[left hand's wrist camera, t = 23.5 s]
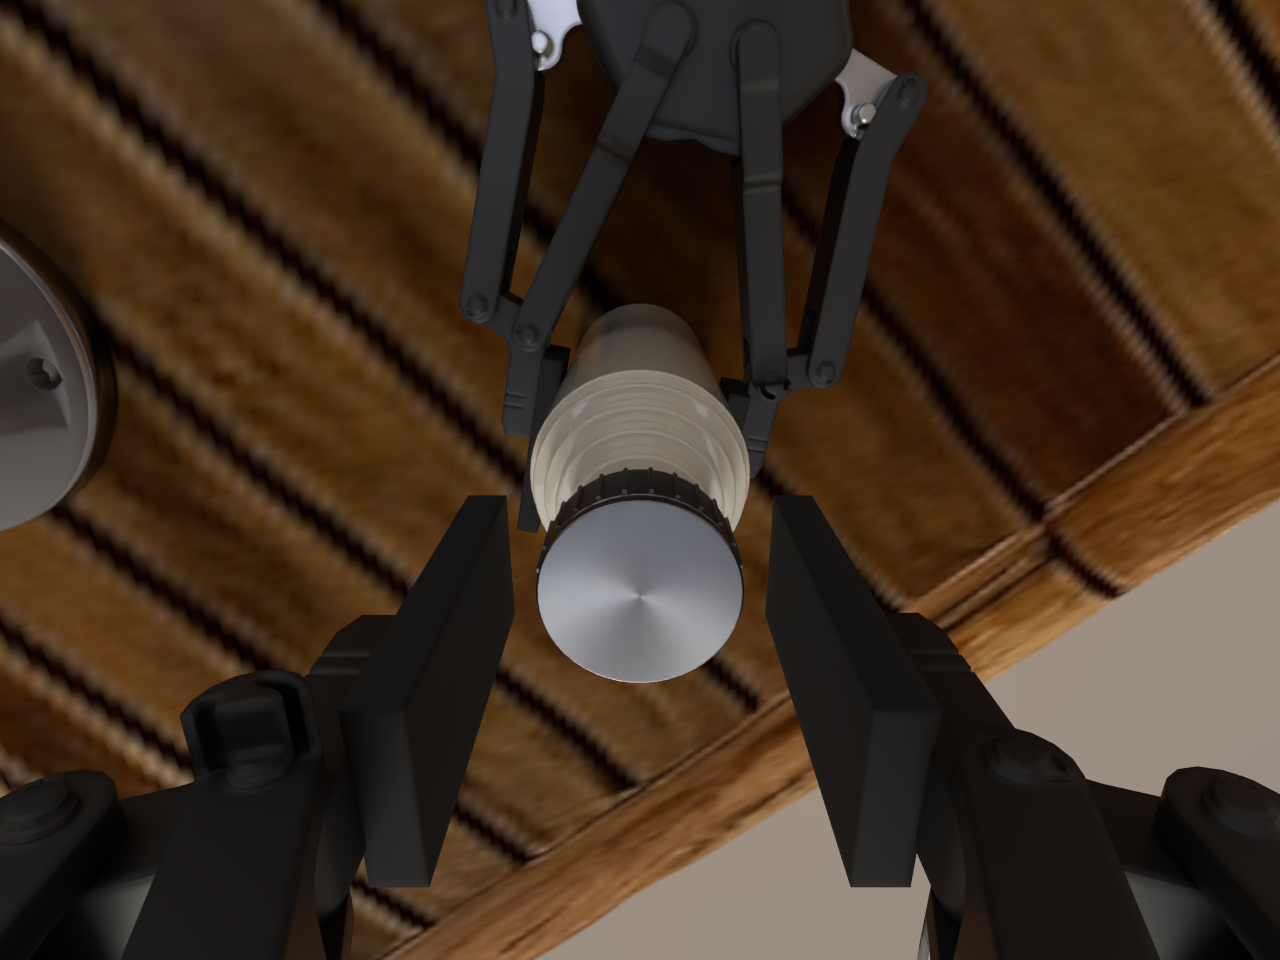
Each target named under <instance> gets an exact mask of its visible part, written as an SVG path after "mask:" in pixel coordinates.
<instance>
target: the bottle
mask: <svg viewBox="0 0 1280 960" xmlns="http://www.w3.org/2000/svg"><path fill="white" fill-rule="evenodd" d="M649 467H653V470H656V471H662V472H666V473H669V474H673V472H675V473H677V476H678V477H680V478H683V479H685V480H687V481H688V482H690V483H692V484H695V483H697V484H699V488H700V489H701V490H702V491H703V492H705V493H706V494H707V495H708V496H709V497H710V498H711V499H713V498H715V499H716V501H717V504H718V508H719V509H720V511H721V512H722V514H723V516H724V518H725V517H728V519H729V522H730V525H731V529H732V532H733V531H734V530H735V528H736V526H737V524H738V522H739V519H740V517H741V514H742V511H743V508H744V505H745V501H746V498H747V495H748V489H749V483H750V464H749V455H748V451H747V447H746V443H745V441H744V438H743V436H742V433H741V431H740V428H739V426H738V424H737V422H736V420H735V418H734V415H733V413H732V411H731V409H730V407H729V405H728V403H727V400H726V398H725V396H724V394H723V392H722V390H721V387H720V385H719V383H718V381H717V379H716V377H715V374H714V372H713V370H712V368H711V366H710V364H709V362H708V359H707V357H706V355H705V353H704V351H703V349H702V346H701V344H700V342H699V340H698V338H697V336H696V335H695V333H694V331H693V330H692V329H691V328H690V326H689V325H688V324H687V323H686V322H685V321H684V320H683V319H682V318H680V317H679V316H678V315H676V314H675V313H673V312H671V311H669V310H667V309H665V308H662V307H660V306H656V305H652V304H629V305H624V306H621V307H617V308H615V309H613V310H611V311H609V312H607V313H605V314H604V315H602V316H601V317H600V318H599V319H597V320H596V321H595V322H594V323H593V324H592V325H591V326H590V327H589V329H588V330H587V332H586V333H585V335H584V336H583V338H582V340H581V342H580V344H579V346H578V349H577V351H576V353H575V355H574V357H573V359H572V362H571V364H570V366H569V368H568V370H567V372H566V375H565V377H564V379H563V381H562V383H561V385H560V387H559V390H558V392H557V394H556V396H555V398H554V400H553V403H552V405H551V407H550V409H549V411H548V413H547V416H546V418H545V420H544V422H543V424H542V426H541V428H540V431H539V433H538V435H537V438H536V441H535V444H534V447H533V451H532V457H531V464H530V481H531V489H532V494H533V498H534V502H535V505H536V508H537V511H538V514H539V517H540V519H541V522H542V524H543V526H544V528H545V529H546V531H548V527H549V524H550V521H551V520H553V521H554V520H555V517H556V516H557V514H558V513H559V510H560V506H561V503H562V502H563V501H565V502H567V500H568V499H569V498H570V497H571V496H572V495H573V494H575V493H576V492H577V490H578V487H579V486H580V485H582V486H585V485H586V484H588V483H590V482H592V481H593V480H595V479H597V478H599V475H600V474H604V476H605V475H607V474H610V473H614V472H619V471H623V468H628V470H632V469H648V468H649Z"/></svg>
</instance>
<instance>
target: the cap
mask: <svg viewBox="0 0 1280 960" xmlns="http://www.w3.org/2000/svg"><path fill="white" fill-rule="evenodd" d="M741 569H743V564H742V561H741V557H740V554H739V550H738V547H737V543H736V540H735V538H734V536H733V532H732V529H731V525H730V522H729V519H728V517H725V518H724V516H723V514H722V512H721V511H720V509H719V508H718V504H717V501H716V499H715V498H713V499H711V498H710V497H709V496H708V495H707V494H706V493H705V492H703V491H702V490H701V489H700V488H699V484H697V483H695V484H692V483H690V482H688V481H687V480H685V479H683V478H680V477H678V476H677V473H675V472H673V474H669V473H666V472H662V471H656V470H653V467H649V468H648V469H632V470H628V468H623V471H619V472H614V473H610V474H607V475H605V476H604V474H600V475H599V478H597V479H595V480H593V481H592V482H590V483H588V484H586V485H585V486H582V485H580V486H579V487H578V490H577V492H576V493H575V494H573V495H572V496H571V497H570V498H569V499H568V500H567V502H565V501H563V502H562V503H561V506H560V510H559V513H558V514H557V516H556V517H555V520H554V521H553V520H551V521H550V524H549V527H548V531H547V534H546V537H545V541H544V544H543V548H542V552H541V555H540V558H539V562H538V565H537V569H536V572H538V577H537V585H536V597H537V605H538V610H539V614H540V617H541V620H542V623H543V625H544V627H545V629H546V631H547V633H548V634H549V636H550V637H551V639H552V640H553V642H554V643H555V644H556V645H557V647H558V648H559V649H560V650H561V651H562V652H563V653H564V654H565V655H566V656H567V657H569V658H570V659H571V660H572V661H573V662H575V663H576V664H578V665H579V666H581V667H582V668H584V669H586V670H588V671H590V672H592V673H594V674H597V675H599V676H602V677H605V678H608V679H612V680H617V681H622V682H630V683H649V682H658V681H663V680H668V679H672V678H675V677H678V676H681V675H683V674H686V673H688V672H690V671H692V670H694V669H696V668H697V667H699V666H701V665H702V664H704V663H705V662H706V661H708V660H709V659H710V658H712V657H713V656H714V655H715V654H716V653H717V652H718V651H719V650H720V649H721V648H722V647H723V646H724V644H725V643H726V642H727V640H728V639H729V638H730V636H731V634H732V632H733V631H734V629H735V627H736V625H737V622H738V620H739V617H740V614H741V610H742V605H743V596H744V586H743V577H742V573H741Z"/></svg>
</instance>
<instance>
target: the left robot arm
mask: <svg viewBox="0 0 1280 960" xmlns="http://www.w3.org/2000/svg"><path fill="white" fill-rule="evenodd" d="M115 413H116V403H115V388H114V380H113V375H112V371H111V366H110V362H109V359H108V356H107V353H106V350H105V347H104V344H103V342H102V339H101V337H100V334H99V332H98V330H97V328H96V326H95V324H94V322H93V320H92V318H91V316H90V314H89V312H88V311H87V309H86V308H85V306H84V304H83V303H82V301H81V300H80V298H79V296H78V295H77V294H76V292H75V291H74V289H73V288H72V287H71V285H70V284H69V283H68V281H67V280H66V279H65V278H64V276H63V275H62V274H61V273H60V272H59V271H58V269H57V268H56V267H55V266H54V265H53V264H52V263H51V262H50V261H49V260H48V259H47V258H46V257H45V256H44V255H43V254H42V253H41V252H40V251H39V250H38V249H37V248H36V247H35V246H34V245H33V244H31V243H30V242H29V241H28V240H27V239H26V238H24V237H23V236H22V235H21V234H20V233H18V232H17V231H15V230H14V229H13V228H11V227H10V226H9V225H7V224H6V223H5V222H3V221H1V220H0V531H3V530H7V529H11V528H13V527H16V526H19V525H21V524H24V523H26V522H28V521H30V520H32V519H34V518H36V517H38V516H40V515H42V514H44V513H46V512H48V511H50V510H52V509H54V508H56V507H58V506H60V505H62V504H63V503H65V502H66V501H68V500H69V499H71V498H72V497H74V496H75V495H76V494H77V493H78V492H80V491H81V490H82V489H83V488H84V487H85V486H86V485H87V484H88V483H89V481H90V480H91V479H92V478H93V477H94V475H95V474H96V472H97V471H98V469H99V468H100V466H101V464H102V462H103V460H104V458H105V456H106V454H107V451H108V448H109V445H110V443H111V439H112V435H113V430H114V424H115ZM514 615H515V612H514V598H513V584H512V570H511V556H510V542H509V527H508V513H507V499H506V496H468V497H467V499H466V500H465V502H464V504H463V505H462V507H461V508H460V510H459V512H458V513H457V515H456V517H455V518H454V520H453V522H452V523H451V525H450V526H449V528H448V530H447V531H446V533H445V535H444V536H443V538H442V540H441V541H440V543H439V545H438V546H437V548H436V549H435V551H434V553H433V554H432V556H431V558H430V559H429V561H428V563H427V564H426V566H425V568H424V569H423V571H422V572H421V574H420V576H419V577H418V579H417V581H416V582H415V584H414V586H413V587H412V589H411V590H410V592H409V594H408V595H407V597H406V599H405V600H404V602H403V604H402V605H401V607H400V609H399V610H398V612H397V613H396V615H362V616H360V617H359V618H357V619H356V620H354V621H353V622H352V623H350V624H349V625H347V626H346V627H344V628H343V629H341V630H340V631H338V632H337V633H336V634H335V636H334V637H333V639H332V640H331V641H330V643H329V644H328V645H327V647H326V648H325V650H324V651H323V652H322V657H319V658H318V659H317V661H316V662H315V663H314V665H313V666H312V668H311V669H310V673H309V675H306V676H305V677H302V676H301V675H300V674H298V673H294V672H289V671H285V670H264V671H256V672H252V673H248V674H244V675H240V676H235V677H233V678H231V679H228V680H226V681H224V682H221V683H219V684H217V685H215V686H212V687H210V688H209V689H208V690H206V691H205V692H203V693H202V694H200V695H199V696H198V697H196V698H195V699H193V700H192V701H191V702H190V703H189V704H188V706H187V707H186V708H185V709H184V711H183V712H182V713H181V714H180V720H181V724H182V727H183V731H184V735H185V738H186V742H187V745H188V749H189V753H190V756H191V760H192V763H193V767H194V771H195V774H196V777H195V780H194V782H192V783H189V784H186V785H182V786H179V787H175V788H170V789H166V790H162V791H157V792H153V793H148V794H144V795H139V796H135V797H130V798H126V799H121V800H120V797H119V794H118V791H117V788H116V785H115V782H114V781H113V780H112V779H111V778H110V777H109V776H107V775H106V774H105V773H104V772H98V771H91V770H77V771H70V772H63V773H57V774H54V775H51V776H48V777H45V778H42V779H38V780H36V781H33V782H31V783H28V784H26V785H24V786H22V787H20V788H18V789H17V790H15V791H13V792H11V793H9V794H7V795H5V796H3V797H1V798H0V960H350V952H351V942H352V933H353V924H354V912H353V904H352V898H351V893H350V886H351V884H352V881H353V879H354V877H355V874H356V872H357V870H358V867H359V865H360V863H361V860H362V858H363V856H364V859H365V865H366V870H367V876H368V882H369V887H430V883H431V880H432V877H433V874H434V871H435V867H436V864H437V861H438V858H439V855H440V851H441V848H442V845H443V842H444V839H445V835H446V832H447V829H448V826H449V823H450V819H451V816H452V813H453V810H454V807H455V803H456V800H457V797H458V794H459V791H460V787H461V784H462V781H463V778H464V775H465V771H466V768H467V765H468V762H469V759H470V755H471V752H472V749H473V746H474V743H475V740H476V736H477V733H478V730H479V727H480V724H481V720H482V717H483V714H484V711H485V708H486V704H487V701H488V698H489V695H490V692H491V688H492V685H493V682H494V679H495V676H496V672H497V669H498V666H499V663H500V660H501V656H502V653H503V650H504V647H505V644H506V640H507V637H508V634H509V631H510V628H511V624H512V621H513V618H514ZM765 615H766V618H767V621H768V624H769V628H770V631H771V634H772V637H773V640H774V644H775V647H776V650H777V653H778V656H779V660H780V663H781V666H782V669H783V672H784V676H785V679H786V682H787V685H788V688H789V692H790V695H791V698H792V701H793V704H794V708H795V711H796V714H797V717H798V720H799V724H800V727H801V730H802V733H803V736H804V740H805V743H806V746H807V749H808V752H809V755H810V759H811V762H812V765H813V768H814V771H815V775H816V778H817V781H818V784H819V787H820V791H821V794H822V797H823V800H824V803H825V807H826V810H827V813H828V816H829V819H830V823H831V826H832V829H833V832H834V835H835V839H836V842H837V845H838V848H839V851H840V854H841V858H842V861H843V864H844V867H845V870H846V873H847V877H848V880H849V883H850V886H851V887H911V881H912V876H913V870H914V865H915V859H916V854H918V857H919V859H920V861H921V864H922V866H923V868H924V871H925V873H926V875H927V878H928V880H929V882H930V884H931V888H930V893H929V899H928V903H927V909H926V914H925V919H924V924H923V929H922V934H921V939H920V945H919V952H918V959H917V960H928V955H929V950H930V960H1280V794H1278V793H1277V792H1275V791H1273V790H1271V789H1269V788H1267V787H1265V786H1263V785H1261V784H1259V783H1257V782H1256V781H1254V780H1251V779H1248V778H1246V777H1243V776H1239V775H1237V774H1234V773H1230V772H1227V771H1224V770H1219V769H1212V768H1205V767H1198V766H1197V767H1190V768H1183V769H1177V770H1176V771H1175V772H1174V773H1172V774H1171V775H1170V776H1169V777H1167V779H1166V782H1165V785H1164V788H1163V791H1162V794H1161V797H1159V796H1155V795H1150V794H1146V793H1141V792H1137V791H1132V790H1128V789H1123V788H1119V787H1114V786H1110V785H1105V784H1101V783H1098V782H1095V781H1091V780H1088V779H1085V776H1084V774H1083V773H1082V772H1081V770H1080V769H1079V767H1078V766H1077V764H1076V763H1075V761H1074V760H1073V759H1072V758H1071V757H1070V756H1069V755H1067V754H1066V753H1065V752H1063V751H1062V750H1061V749H1060V748H1059V747H1057V746H1056V745H1055V744H1053V743H1051V742H1049V741H1047V740H1045V739H1043V738H1041V737H1039V736H1037V735H1035V734H1033V733H1030V732H1026V731H1023V730H1019V729H1015V728H1014V726H1013V725H1012V724H1011V722H1010V721H1009V719H1008V718H1007V717H1006V715H1005V714H1004V712H1003V711H1002V710H1001V708H1000V707H999V706H998V704H997V703H996V702H995V700H994V699H993V697H992V696H991V695H990V693H989V692H988V691H987V689H986V688H985V686H984V685H983V684H982V682H981V681H980V680H979V678H978V677H977V675H976V674H975V673H974V672H971V667H970V666H969V664H968V663H967V662H966V660H965V659H964V658H963V656H962V655H959V653H958V652H959V651H958V649H957V648H956V647H955V645H954V644H953V643H952V641H951V640H950V638H949V637H948V636H947V634H946V633H945V632H944V630H942V629H941V628H939V627H938V626H936V625H935V624H934V623H932V622H931V621H929V620H928V619H926V618H925V617H923V616H922V615H920V614H919V613H883V612H882V610H881V609H880V607H879V605H878V604H877V602H876V600H875V599H874V597H873V595H872V594H871V592H870V590H869V589H868V587H867V586H866V584H865V582H864V581H863V579H862V577H861V576H860V574H859V572H858V571H857V569H856V567H855V566H854V564H853V563H852V561H851V559H850V558H849V556H848V554H847V553H846V551H845V549H844V548H843V546H842V545H841V543H840V541H839V540H838V538H837V536H836V535H835V533H834V531H833V530H832V528H831V526H830V525H829V523H828V522H827V520H826V518H825V517H824V515H823V513H822V512H821V510H820V508H819V507H818V505H817V504H816V502H815V500H814V499H813V497H812V496H774V499H773V513H772V528H771V542H770V556H769V570H768V584H767V598H766V612H765Z"/></svg>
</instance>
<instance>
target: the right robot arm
mask: <svg viewBox="0 0 1280 960" xmlns="http://www.w3.org/2000/svg"><path fill="white" fill-rule="evenodd" d="M486 11H487V17H488V24H489V30H490V37H491V43H492V50H493V57H494V63H495V70H496V75H495V81H494V88H493V94H492V100H491V107H490V113H489V119H488V125H487V132H486V138H485V144H484V151H483V157H482V163H481V169H480V176H479V182H478V188H477V194H476V201H475V207H474V213H473V220H472V226H471V232H470V238H469V245H468V251H467V257H466V263H465V270H464V276H463V282H462V289H461V295H460V309H461V311H462V314H463V315H464V316H465V317H466V318H467V319H468V320H470V321H472V322H474V323H481V324H483V325H485V326H486V327H488V328H490V329H491V330H493V331H495V332H497V333H498V334H499V335H501V336H502V337H503V338H504V339H505V341H506V342H507V344H508V347H509V351H510V358H509V365H508V373H507V381H506V389H505V397H504V406H503V413H502V424H503V428H504V431H505V434H506V435H511V436H517V437H522V438H528V439H530V441H529V448H528V455H527V462H526V469H525V476H524V483H523V490H522V497H521V504H520V511H519V518H518V525H517V530H521V531H527V532H532V533H537V531H538V528H539V525H540V522H541V519H540V517H539V514H538V511H537V508H536V505H535V502H534V498H533V494H532V489H531V481H530V464H531V457H532V451H533V447H534V444H535V441H536V438H537V435H538V433H539V431H540V428H541V426H542V424H543V422H544V420H545V418H546V416H547V413H548V411H549V409H550V407H551V405H552V403H553V400H554V398H555V396H556V394H557V392H558V390H559V387H560V385H561V383H562V381H563V379H564V377H565V375H566V372H567V368H568V361H569V355H570V349H571V348H567V347H562V346H557V345H550V343H551V336H552V332H553V331H554V330H555V329H554V328H555V326H556V324H557V322H558V320H559V318H560V316H561V314H562V312H563V310H564V308H565V306H566V304H567V301H568V299H569V297H570V295H571V293H572V291H573V289H574V287H575V285H576V283H577V281H578V279H579V277H580V274H581V272H582V270H583V268H584V266H585V264H586V262H587V260H588V258H589V256H590V254H591V252H592V250H593V247H594V245H595V243H596V241H597V239H598V237H599V235H600V233H601V231H602V229H603V227H604V225H605V223H606V220H607V218H608V216H609V214H610V212H611V210H612V208H613V206H614V204H615V202H616V200H617V198H618V196H619V193H620V191H621V189H622V187H623V185H624V183H625V181H626V179H627V177H628V175H629V173H630V171H631V169H632V167H633V165H634V163H635V161H636V159H637V157H638V155H639V153H640V151H641V149H642V147H643V145H644V143H645V142H647V143H651V144H656V145H661V146H677V145H691V146H693V147H695V148H697V149H699V150H701V151H703V152H704V153H706V154H708V155H710V156H713V157H718V158H723V159H727V160H730V176H731V186H732V190H733V197H734V213H735V230H736V247H737V263H738V280H739V297H740V313H741V330H742V347H743V364H744V371H745V372H744V376H743V381H742V382H741V380H736V379H731V378H725V377H721V381H720V387H721V390H722V392H723V394H724V396H725V398H726V400H727V403H728V405H729V407H730V409H731V411H732V413H733V415H734V418H735V420H736V422H737V424H738V426H739V428H740V431H741V433H742V436H743V438H744V441H745V443H746V447H747V451H748V455H749V464H750V478H751V479H753V478H754V477H755V476H756V474H757V473H758V472H759V470H760V469H761V467H762V464H763V460H764V457H765V452H766V449H767V445H768V441H769V438H770V434H771V430H772V426H773V423H774V419H775V415H776V411H777V408H778V405H779V402H780V401H782V400H784V399H785V398H786V397H788V395H789V393H790V392H791V391H794V390H798V389H804V388H810V387H818V388H821V389H826V388H831V387H833V386H835V385H836V384H837V383H838V382H839V381H840V379H841V377H842V375H843V372H844V367H845V363H846V359H847V354H848V350H849V346H850V342H851V337H852V333H853V329H854V324H855V320H856V316H857V312H858V307H859V303H860V299H861V294H862V290H863V286H864V282H865V277H866V273H867V269H868V264H869V260H870V256H871V252H872V247H873V243H874V239H875V234H876V230H877V226H878V222H879V217H880V213H881V209H882V204H883V200H884V196H885V192H886V187H887V183H888V179H889V174H890V170H891V166H892V162H893V158H894V156H895V154H896V152H897V151H898V149H899V147H900V146H901V144H902V142H903V141H904V139H905V137H906V135H907V134H908V132H909V130H910V129H911V127H912V125H913V124H914V122H915V120H916V118H917V117H918V115H919V113H920V112H921V110H922V108H923V107H924V105H925V103H926V100H927V97H928V85H927V82H926V80H925V79H924V77H923V76H922V75H921V74H919V73H916V72H905V73H903V74H901V75H899V76H897V75H894V74H893V73H891V72H890V71H888V70H886V69H885V68H883V67H882V66H880V65H879V64H877V63H875V62H874V61H872V60H871V59H869V58H867V57H866V56H864V55H863V54H861V53H860V52H858V51H856V50H855V49H853V42H854V34H853V28H852V23H851V19H850V11H849V0H486ZM582 31H584V32H585V34H586V36H587V39H588V41H589V43H590V46H591V48H592V50H593V53H594V55H595V57H596V60H597V62H598V64H599V67H600V69H601V71H602V74H603V76H604V78H605V81H606V83H607V85H608V88H609V90H610V92H611V95H612V97H613V99H614V103H613V105H612V107H611V109H610V111H609V114H608V116H607V118H606V120H605V122H604V125H603V127H602V129H601V131H600V133H599V136H598V138H597V141H596V144H595V147H594V150H593V152H592V154H591V156H590V159H589V161H588V163H587V165H586V167H585V169H584V172H583V174H582V176H581V178H580V180H579V182H578V185H577V187H576V189H575V191H574V193H573V195H572V198H571V200H570V202H569V204H568V206H567V209H566V211H565V213H564V215H563V217H562V219H561V222H560V224H559V226H558V228H557V230H556V232H555V235H554V237H553V239H552V241H551V243H550V245H549V248H548V250H547V252H546V254H545V256H544V258H543V261H542V263H541V265H540V267H539V269H538V272H537V274H536V276H535V278H534V280H533V282H532V285H531V287H530V289H529V291H528V293H527V295H526V298H525V300H523V299H521V298H520V297H518V296H516V295H515V294H513V293H511V292H510V287H511V281H512V276H513V270H514V265H515V259H516V254H517V248H518V243H519V238H520V232H521V227H522V221H523V216H524V210H525V205H526V199H527V194H528V188H529V183H530V177H531V172H532V166H533V161H534V155H535V150H536V144H537V139H538V133H539V128H540V123H541V117H542V111H543V104H544V91H545V78H544V75H549V74H552V73H555V72H556V71H558V70H559V68H560V67H561V66H562V64H563V61H564V56H565V48H566V45H567V42H568V41H569V39H570V38H571V37H572V36H573V35H574V34H576V33H578V32H582ZM828 86H830V87H831V88H832V89H833V90H834V92H835V93H836V96H837V100H838V107H837V111H836V115H835V118H834V125H835V129H836V131H837V133H838V134H839V135H840V136H841V137H842V138H844V141H843V143H842V145H841V148H840V150H839V153H838V156H837V158H836V162H835V166H834V170H833V173H832V178H831V183H830V188H829V193H828V197H827V202H826V207H825V212H824V217H823V221H822V226H821V231H820V236H819V241H818V246H817V250H816V255H815V260H814V265H813V270H812V275H811V279H810V284H809V289H808V294H807V299H806V303H805V308H804V313H803V318H802V323H801V328H800V332H799V337H798V342H797V347H796V348H790V349H787V337H786V311H785V284H784V258H783V232H782V205H781V184H782V179H783V151H782V131H783V130H784V129H785V128H786V127H787V126H788V125H789V124H790V123H791V122H792V121H793V120H794V119H795V118H796V117H797V116H798V115H799V114H800V113H801V112H802V111H803V110H804V109H805V108H806V107H807V106H808V105H809V104H810V103H811V102H812V101H813V100H814V99H815V98H816V97H817V96H818V95H819V94H820V93H821V92H822V91H824V90H825V89H826V88H827V87H828Z"/></svg>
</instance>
